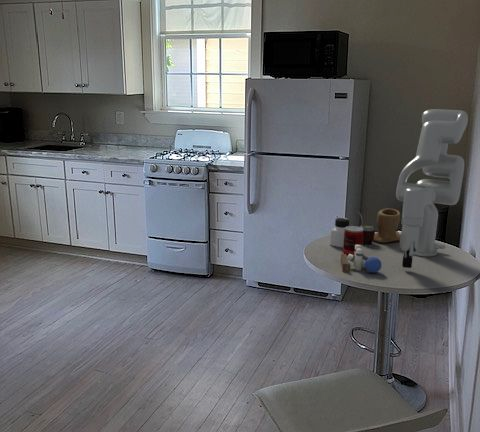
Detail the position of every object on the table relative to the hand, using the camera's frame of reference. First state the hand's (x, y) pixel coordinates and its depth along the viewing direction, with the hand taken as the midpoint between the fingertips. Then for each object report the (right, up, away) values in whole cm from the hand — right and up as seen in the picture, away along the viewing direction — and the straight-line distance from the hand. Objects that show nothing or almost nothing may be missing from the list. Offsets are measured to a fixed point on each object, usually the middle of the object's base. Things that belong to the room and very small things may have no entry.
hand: (406, 266), depth 195 cm
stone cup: (+4, +8, +38) cm, 39 cm away
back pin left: (-19, -1, 0) cm, 19 cm away
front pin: (-15, +1, +2) cm, 15 cm away
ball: (-14, +1, -3) cm, 14 cm away
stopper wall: (-23, 0, +3) cm, 24 cm away
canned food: (-17, +4, +19) cm, 25 cm away
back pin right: (-18, 0, +5) cm, 19 cm away
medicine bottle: (-19, +7, +30) cm, 37 cm away
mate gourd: (-8, +7, +34) cm, 35 cm away
